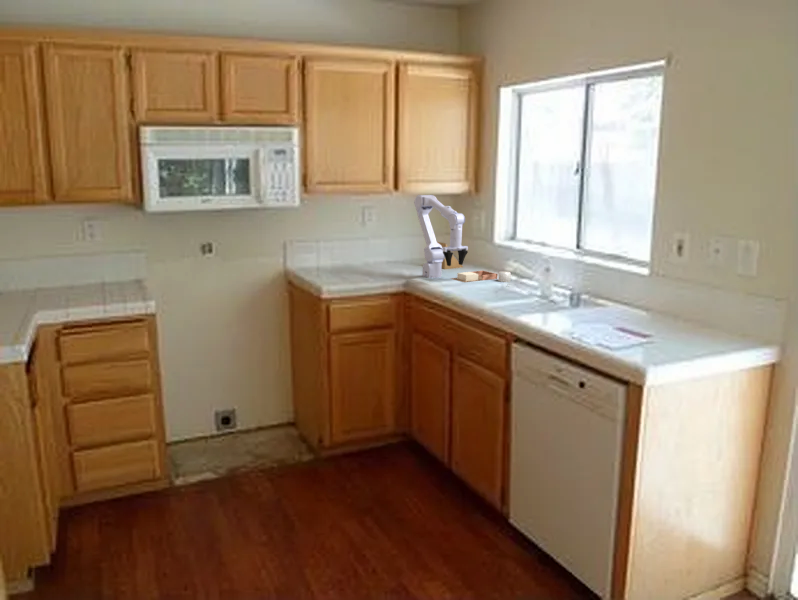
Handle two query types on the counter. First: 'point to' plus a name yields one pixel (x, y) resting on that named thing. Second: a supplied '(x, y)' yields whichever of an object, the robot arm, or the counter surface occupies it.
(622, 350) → the counter surface
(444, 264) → the sandwich container
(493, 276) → the open-sided wooden box
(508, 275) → the grey rounded piece
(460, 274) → the carton
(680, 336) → the counter surface
